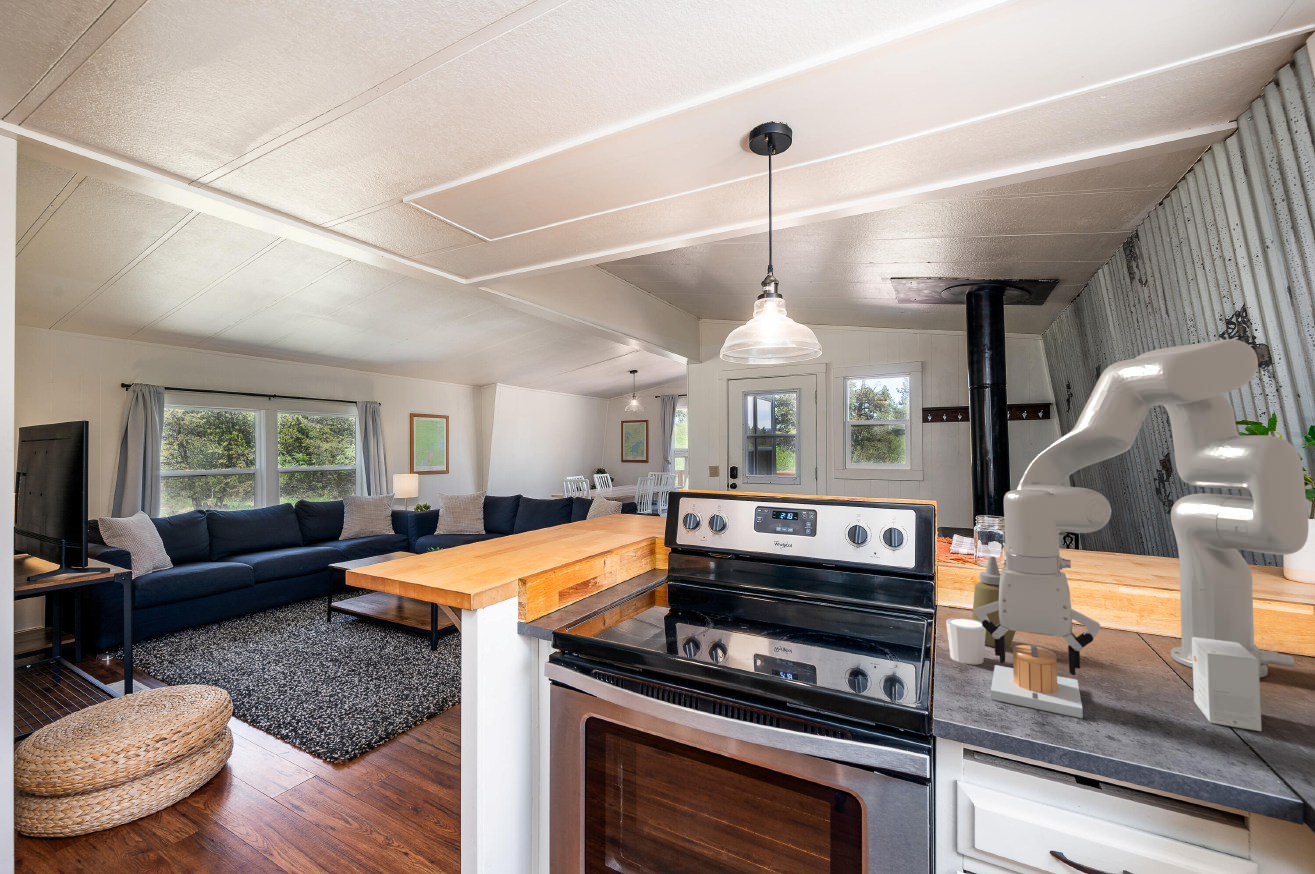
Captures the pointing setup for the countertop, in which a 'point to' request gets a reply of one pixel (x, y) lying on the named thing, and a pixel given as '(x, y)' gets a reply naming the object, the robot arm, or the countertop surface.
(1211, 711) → the small box
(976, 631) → the white cup
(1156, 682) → the countertop surface
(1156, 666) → the countertop surface
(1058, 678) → the knob base plate
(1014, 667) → the cap
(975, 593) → the squeeze bottle
